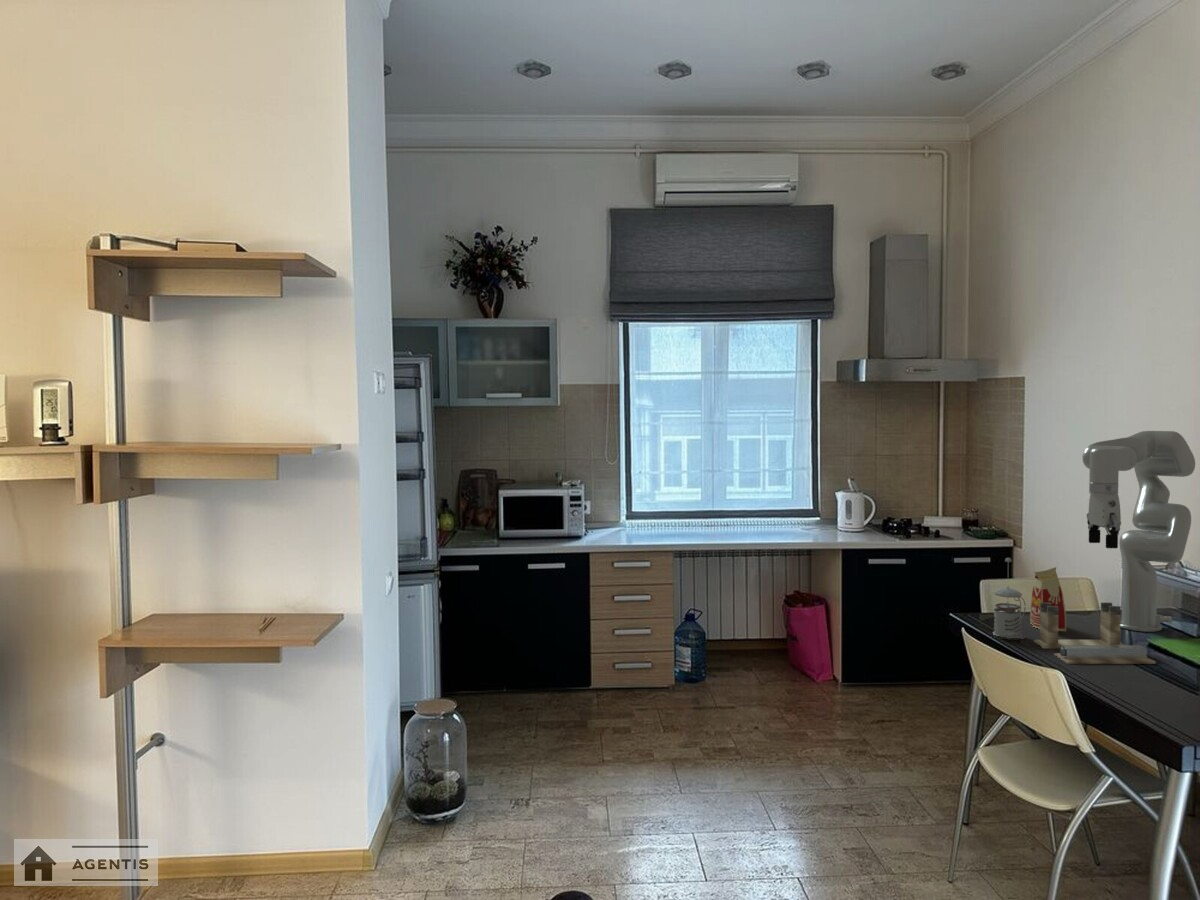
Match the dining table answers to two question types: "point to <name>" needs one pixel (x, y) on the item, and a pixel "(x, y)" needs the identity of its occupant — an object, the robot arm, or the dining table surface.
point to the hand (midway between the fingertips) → (1102, 545)
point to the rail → (1104, 652)
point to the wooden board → (1105, 661)
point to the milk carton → (1047, 597)
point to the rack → (1107, 637)
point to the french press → (1008, 613)
